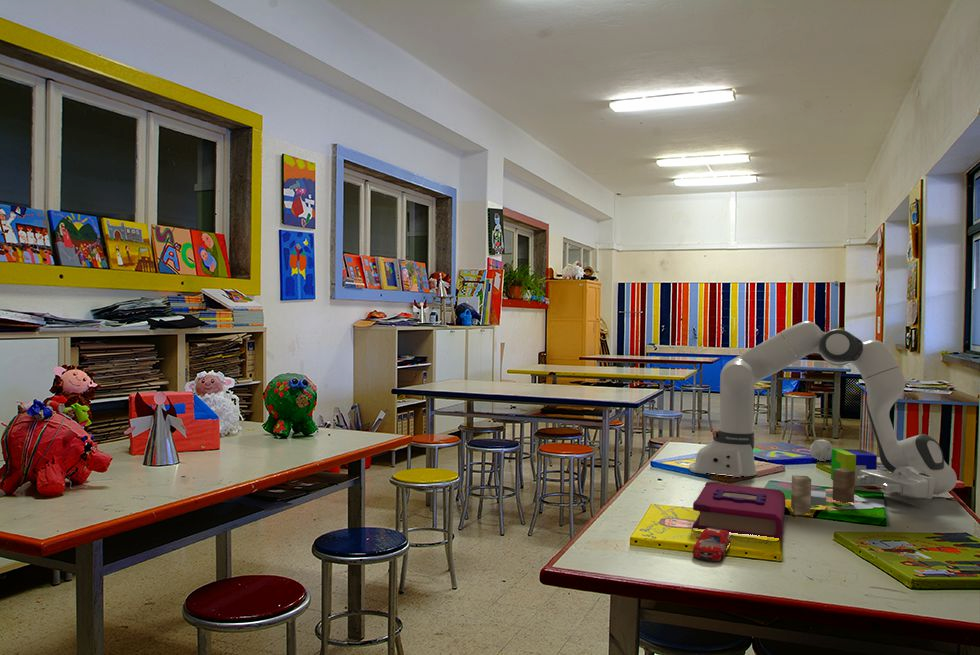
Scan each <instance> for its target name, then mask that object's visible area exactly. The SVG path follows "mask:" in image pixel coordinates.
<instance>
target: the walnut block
mask: <svg viewBox="0 0 980 655" xmlns="http://www.w3.org/2000/svg"><path fill="white" fill-rule="evenodd" d="M855 489H856V488H855V471H852V470H848V469H845V468H843V469H833V479H832V499H833V500H836V501H840V502H842V503H846V502H847V503H848V502H853V503H854V504H855Z"/></svg>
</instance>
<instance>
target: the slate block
mask: <svg viewBox="0 0 980 655" xmlns="http://www.w3.org/2000/svg"><path fill="white" fill-rule="evenodd" d="M811 505H823V506H826V507H827V493H826V492H825V491H819V490H818V491H817V490H811Z"/></svg>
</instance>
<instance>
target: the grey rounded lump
mask: <svg viewBox="0 0 980 655" xmlns="http://www.w3.org/2000/svg"><path fill="white" fill-rule="evenodd" d="M832 449H835V447H834V446H833V445H832V443H831V442H830V441H829V440H826V439H815V440H814V441H813V442H812V443H811V445H810V449H809V454H810V455H811V456H812V457H814V458H815V459H817V460H816V461H818V460H819V461H818V462H820V461H824V462H827V461H826V460H829V461H830V460H832ZM814 458H813V459H814ZM815 459H814V460H815Z"/></svg>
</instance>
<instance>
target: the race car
mask: <svg viewBox="0 0 980 655" xmlns="http://www.w3.org/2000/svg"><path fill="white" fill-rule="evenodd" d="M695 538H696V539H697V541H695V544H694V545H693V547H692V556H693V558H697V559H700V560H704V561H712V562H713V561H714V562H720V563H721V562H722V561H723V560H724V559H723V558H725V556H726V554H727V553H726V548H727V546H728V545H729V543H730V544H731V536H730V535H729V532H728V531H726V530H722V529H717V528H706V529H705V530H704V531H703V532H701V534H700V535H699V536H695Z"/></svg>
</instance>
